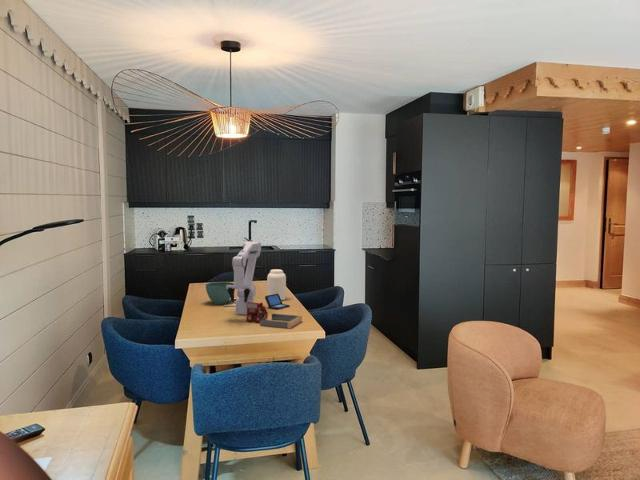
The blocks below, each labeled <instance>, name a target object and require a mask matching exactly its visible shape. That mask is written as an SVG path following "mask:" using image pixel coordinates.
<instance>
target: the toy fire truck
mask: <svg viewBox="0 0 640 480" xmlns="http://www.w3.org/2000/svg"><path fill="white" fill-rule="evenodd" d="M246 307H247V315H246V319H245V320H246V321H247V322H249V323H252V322H253V321H255V322H256V323H258V324H260V320H261V319H264V320H268V319H269V318H268V316H269V315H268V310H267V308H266V306H265V305H264V303H263V302H260V303H259V302H247V303H246Z"/></svg>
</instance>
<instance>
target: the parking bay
mask: <svg viewBox="0 0 640 480" xmlns="http://www.w3.org/2000/svg"><path fill="white" fill-rule="evenodd" d="M301 322H303V316H302V315H296V314H295V315H294V314H285V313H283V314H282V313H271V319H266V320H264V319H261V320H260V323H259V326H263V327H271V328H281V329H282V328H283V329H292V328H293V327H295V326H298V325H299V324H300V323H301Z"/></svg>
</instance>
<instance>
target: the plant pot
mask: <svg viewBox="0 0 640 480" xmlns="http://www.w3.org/2000/svg"><path fill="white" fill-rule="evenodd" d="M226 285H234V282H230V281H213V282H208V283H206V284H205V291H206V294H207V296H208V298H209V299H210V301H211V302H212V303H213V304H215V305H225V304H228V302H229V300H231V297H230V295H229V293H228V291H227V290H228V289H226Z"/></svg>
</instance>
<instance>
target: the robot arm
mask: <svg viewBox="0 0 640 480" xmlns="http://www.w3.org/2000/svg"><path fill="white" fill-rule="evenodd" d="M261 250H262V243H261V241H251V240H250V241H248V240H245V241H244V242H243V243H242V249H241V250H240V251H239V252H238V253H237V255H236V256H234V257H232V260H231V261H232V270H233V283H234V285H226V289H228V290H227V291H228V293H229V295H230V297H231V298H230V301H231V303H233V302H235V315H242V316H245V315H246V316H247V307H246V303H247V302H253V299H254V298H255V297H256V293H257V292H256V289H257V288H256V285H255V284H254V283H253V279H254V274H255V268H256V262H257V259H258V258H259V257H260V255H261ZM245 267H246V269H245ZM235 290H236V296H237V299H236V300H235Z"/></svg>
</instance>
